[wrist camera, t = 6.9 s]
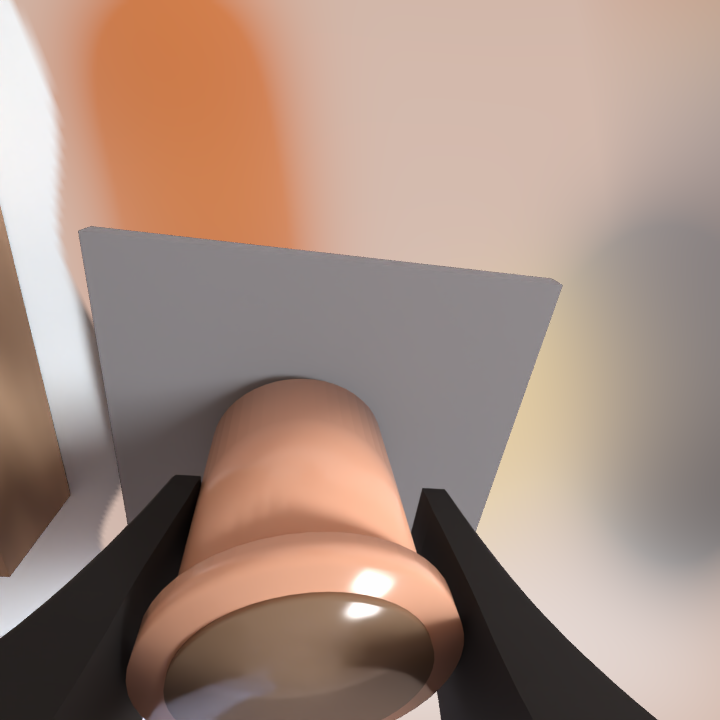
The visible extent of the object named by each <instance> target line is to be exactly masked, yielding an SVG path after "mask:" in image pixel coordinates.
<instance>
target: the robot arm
mask: <svg viewBox="0 0 720 720" xmlns="http://www.w3.org/2000/svg"><path fill="white" fill-rule="evenodd" d="M200 487H201V476H192V475H174V476H173V477H172V478H171V479H170V480H169V481H168V482H167V483H166V484H165V485H164V487H163V488H162V489H161V490H160V491H159V492H158V493H157V494H156V496H155V497H154V498H153V499H152V500H151V501H150V502H149V503H148V504H147V505H146V507H145V508H144V509H143V510H142V511H141V512H140V513H139V514H138V515H137V516H136V517H135V518H134V519H133V520H132V521H131V522H130V523H129V524H128V525H127V526H126V527H125V528H124V530H122V532H121V533H120V534H119V535H118V536H117V537H116V538H115V539H114V540H113V541H112V542H111V543H110V544H109V545H108V546H107V547H106V548H105V549H104V550H103V551H101V552H100V553H99V554H98V555H97V556H96V557H95V558H94V559H93V560H92V561H91V562H90V563H89V564H88V565H86V566H85V567H84V568H83V569H82V570H81V571H80V572H79V573H78V574H77V575H76V576H75V577H74V578H73V579H71V580H70V581H69V582H68V583H67V584H66V585H65V586H64V587H62V588H61V589H60V590H59V591H58V592H57V593H56V594H54V595H53V596H52V597H51V598H50V599H49V600H47V601H46V602H45V603H44V604H43V605H41V606H40V607H39V608H38V609H37V610H35V611H34V612H33V613H32V614H31V615H29V616H28V617H27V618H26V619H24V620H23V621H22V622H21V623H20V624H18V625H17V626H16V627H15V628H13V629H12V630H11V631H9V632H8V633H7V634H5V635H4V636H3V637H2V638H0V720H145V719H144V718H143V717H142V716H141V715H140V714H139V712H138V711H137V710H136V709H135V707H134V706H133V704H132V702H131V700H130V698H129V696H128V692H127V687H126V672H127V667H128V663H129V660H130V657H131V653H132V650H133V647H134V644H135V640H136V637H137V634H138V631H139V628H140V625H141V622H142V619H143V616H144V614H145V613H146V611H147V609H148V607H149V606H150V604H151V602H152V601H153V600H154V599H155V598H156V597H157V595H158V594H159V593H160V592H161V591H162V590H163V589H164V588H165V587H166V586H167V585H168V584H169V583H171V582H172V581H173V580H174V579H175V578H176V577H178V573H179V569H180V565H181V561H182V557H183V554H184V550H185V546H186V542H187V538H188V534H189V530H190V526H191V522H192V518H193V514H194V510H195V506H196V502H197V498H198V495H199V491H200ZM411 535H412V539H413V542H414V545H415V549H416V552H417V554H419V555H420V556H422V557H424V558H425V559H427V560H428V561H429V562H430V563H431V564H432V565H433V566H434V567H436V568H437V569H438V571H439V572H440V573H441V575H442V576H443V577H444V578H445V580H446V582H447V584H448V586H449V589H450V591H451V594H452V597H453V599H454V602H455V605H456V608H457V611H458V614H459V617H460V620H461V622H462V627H463V632H464V646H463V650H462V654H461V657H460V660H459V662H458V664H457V666H456V668H455V670H454V671H453V673H452V674H451V675H450V677H449V678H448V680H447V681H446V682H445V683H444V684H443V685H442V686H441V687H440V689H439V690H437V694H438V700H439V708H440V715H441V720H657V719H656V718H655V717H654V716H652V715H651V714H650V713H649V712H647V711H646V710H645V709H644V708H643V707H641V706H640V705H639V704H638V703H637V702H635V701H634V700H633V699H632V698H631V697H630V696H629V695H627V694H626V693H625V692H624V691H623V690H622V689H620V688H619V687H618V686H617V685H616V684H615V683H613V681H612V680H610V679H609V678H608V677H607V676H606V675H605V674H604V673H603V672H602V671H601V670H600V669H598V668H597V667H596V666H595V665H594V664H593V663H592V662H591V661H590V660H589V659H588V658H586V657H585V656H584V655H583V654H582V653H581V652H580V651H579V650H578V649H577V648H576V647H575V646H574V645H573V644H572V643H571V642H570V641H569V640H568V639H567V638H566V637H565V636H564V635H563V634H562V633H561V632H560V631H559V630H558V629H557V628H556V627H555V626H554V625H553V624H552V623H551V622H550V621H549V620H548V619H547V618H546V617H545V616H544V615H543V613H542V612H541V611H540V610H539V609H538V608H537V607H536V606H535V605H534V604H533V603H532V601H531V600H530V599H529V598H528V597H527V596H526V595H525V593H524V592H523V591H522V590H521V589H520V587H519V586H518V585H517V584H516V583H515V582H514V580H513V579H512V578H511V577H510V576H509V574H508V573H507V572H506V571H505V570H504V568H503V567H502V566H501V565H500V563H499V562H498V561H497V559H496V558H495V557H494V556H493V554H492V553H491V552H490V550H489V549H488V548H487V547H486V545H485V544H484V543H483V541H482V540H481V539H480V537H479V536H478V535H477V533H476V532H475V530H474V529H473V528H472V526H471V525H470V524H469V522H468V521H467V519H466V518H465V517H464V515H463V514H462V512H461V511H460V510H459V508H458V507H457V505H456V504H455V502H454V501H453V500H452V498H451V497H450V495H449V494H448V493H447V491H446V490H445V489H433V488H422V491H421V495H420V499H419V503H418V507H417V511H416V515H415V519H414V522H413V526H412V530H411Z"/></svg>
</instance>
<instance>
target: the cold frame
mask: <svg viewBox="0 0 720 720" xmlns="http://www.w3.org/2000/svg"><path fill="white" fill-rule="evenodd" d="M69 496H70V491H69V487H68V483H67V479H66V474H65V470H64V466H63V462H62V458H61V454H60V450H59V446H58V442H57V437H56V433H55V429H54V425H53V421H52V417H51V413H50V409H49V404H48V400H47V396H46V392H45V388H44V384H43V380H42V376H41V372H40V367H39V363H38V359H37V355H36V351H35V347H34V343H33V339H32V335H31V330H30V326H29V322H28V318H27V314H26V310H25V306H24V302H23V298H22V293H21V289H20V285H19V281H18V277H17V273H16V269H15V265H14V261H13V256H12V252H11V248H10V244H9V240H8V236H7V232H6V228H5V224H4V219H3V215H2V211H1V207H0V577H10V576H11V574H12V573H13V572H14V570H15V569H16V568H17V566H18V565H19V564H20V562H21V561H22V560H23V558H24V557H25V556H26V554H27V553H28V552H29V550H30V549H31V548H32V546H33V545H34V543H35V542H36V541H37V539H38V538H39V537H40V535H41V534H42V533H43V531H44V530H45V529H46V527H47V526H48V525H49V523H50V522H51V521H52V519H53V518H54V517H55V515H56V514H57V513H58V511H59V510H60V509H61V507H62V506H63V504H64V503H65V502H66V500H67V499H68V498H69Z"/></svg>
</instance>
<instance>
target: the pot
mask: <svg viewBox="0 0 720 720" xmlns="http://www.w3.org/2000/svg"><path fill="white" fill-rule="evenodd" d="M463 646H464V632H463V627H462V622H461V620H460V617H459V614H458V611H457V608H456V605H455V602H454V599H453V597H452V594H451V591H450V589H449V586H448V584H447V582H446V580H445V578H444V577H443V576H442V575H441V573H440V572H439V571H438V569H437V568H436V567H434V566H433V565H432V564H431V563H430V562H429V561H428V560H427V559H425V558H424V557H422V556H420V555H419V554H417V552H416V549H415V545H414V542H413V539H412V535H411V532H410V529H409V525H408V522H407V519H406V515H405V512H404V508H403V505H402V502H401V498H400V495H399V492H398V488H397V485H396V482H395V478H394V475H393V472H392V468H391V465H390V462H389V458H388V455H387V452H386V448H385V445H384V442H383V438H382V435H381V432H380V428H379V425H378V422H377V420H376V418H375V416H374V414H373V413H372V411H371V410H370V408H369V407H368V406H367V405H366V404H365V403H364V402H363V401H362V400H361V399H360V398H359V397H357V396H356V395H355V394H353V393H352V392H350V391H348V390H347V389H345V388H342V387H340V386H338V385H335V384H332V383H329V382H325V381H320V380H314V379H288V380H282V381H276V382H273V383H269V384H266V385H263V386H261V387H258V388H256V389H254V390H252V391H250V392H248V393H247V394H245V395H243V396H242V397H241V398H239V399H238V400H237V401H235V402H234V403H233V404H232V405H231V406H230V407H229V408H228V409H227V411H226V412H225V413H224V415H223V416H222V417H221V419H220V421H219V423H218V425H217V427H216V430H215V432H214V435H213V439H212V443H211V447H210V451H209V455H208V459H207V463H206V467H205V471H204V475H203V479H202V483H201V487H200V491H199V495H198V498H197V502H196V506H195V510H194V514H193V518H192V522H191V526H190V530H189V534H188V538H187V542H186V546H185V550H184V554H183V557H182V561H181V565H180V569H179V573H178V577H176V578H175V579H174V580H173V581H172V582H171V583H169V584H168V585H167V586H166V587H165V588H164V589H163V590H162V591H161V592H160V593H159V594H158V595H157V597H156V598H155V599H154V600H153V601H152V602H151V604H150V606H149V607H148V609H147V611H146V613H145V614H144V616H143V619H142V622H141V625H140V628H139V631H138V634H137V637H136V640H135V644H134V647H133V650H132V653H131V657H130V660H129V663H128V667H127V672H126V687H127V692H128V696H129V698H130V700H131V702H132V704H133V706H134V707H135V709H136V710H137V711H138V712H139V714H140V715H141V716H142V717H143V718H144V719H145V720H396V719H398V718H399V717H402V716H403V715H405V714H407V713H408V712H410V711H411V710H413V709H415V708H416V707H418V706H419V705H420V704H422V703H423V702H424V701H426V700H427V699H428V698H430V697H431V696H432V695H433V694H434V693H435V692H436V691H437V690H439V689H440V687H441V686H442V685H443V684H444V683H445V682H446V681H447V680H448V678H449V677H450V675H451V674H452V673H453V671H454V670H455V668H456V666H457V664H458V662H459V660H460V657H461V654H462V650H463Z"/></svg>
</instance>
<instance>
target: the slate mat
mask: <svg viewBox="0 0 720 720" xmlns="http://www.w3.org/2000/svg"><path fill="white" fill-rule="evenodd" d="M78 233H79V239H80V244H81V251H82V256H83V263H84V269H85V274H86V281H87V287H88V292H89V298H90V304H91V310H92V316H93V322H94V328H95V334H96V340H97V346H98V352H99V358H100V364H101V370H102V375H103V381H104V387H105V393H106V399H107V405H108V411H109V417H110V423H111V429H112V435H113V441H114V447H115V453H116V458H117V464H118V470H119V476H120V482H121V488H122V494H123V500H124V505H125V511H126V517H127V524H129V523H130V522H131V521H132V520H133V519H134V518H135V517H136V516H137V515H138V514H139V513H140V512H141V511H142V510H143V509H144V508H145V507H146V505H147V504H148V503H149V502H150V501H151V500H152V499H153V498H154V497H155V496H156V494H157V493H158V492H159V491H160V490H161V489H162V488H163V487H164V485H165V484H166V483H167V482H168V481H169V480H170V479H171V478H172V477H173V476H174V475H192V476H201V483H202V479H203V475H204V471H205V467H206V463H207V459H208V455H209V451H210V447H211V443H212V439H213V435H214V432H215V430H216V427H217V425H218V423H219V421H220V419H221V417H222V416H223V415H224V413H225V412H226V411H227V409H228V408H229V407H230V406H231V405H232V404H233V403H234V402H235V401H237V400H238V399H239V398H241V397H242V396H243V395H245V394H247V393H248V392H250V391H252V390H254V389H256V388H258V387H261V386H263V385H266V384H269V383H273V382H276V381H282V380H288V379H314V380H320V381H325V382H329V383H332V384H335V385H338V386H340V387H342V388H345V389H347V390H348V391H350V392H352V393H353V394H355V395H356V396H357V397H359V398H360V399H361V400H362V401H363V402H364V403H365V404H366V405H367V406H368V407H369V408H370V410H371V411H372V413H373V414H374V416H375V418H376V420H377V422H378V425H379V428H380V432H381V435H382V438H383V442H384V445H385V448H386V452H387V455H388V458H389V462H390V465H391V468H392V472H393V475H394V478H395V482H396V485H397V488H398V492H399V495H400V498H401V502H402V505H403V508H404V512H405V515H406V519H407V522H408V525H409V529H410V532H411V530H412V526H413V522H414V519H415V515H416V511H417V507H418V503H419V499H420V495H421V491H422V488H433V489H445V490H446V491H447V493H448V494H449V495H450V497H451V498H452V500H453V501H454V502H455V504H456V505H457V507H458V508H459V510H460V511H461V512H462V514H463V515H464V517H465V518H466V519H467V521H468V522H469V524H470V525H471V526H472V528H473V529H474V530H475V532H476V529H477V526H478V523H479V521H480V518H481V515H482V512H483V509H484V506H485V503H486V501H487V498H488V495H489V492H490V489H491V487H492V483H493V481H494V478H495V475H496V472H497V470H498V467H499V464H500V461H501V458H502V455H503V452H504V450H505V447H506V444H507V441H508V439H509V436H510V433H511V430H512V427H513V424H514V421H515V419H516V416H517V413H518V410H519V407H520V405H521V402H522V399H523V396H524V393H525V390H526V388H527V385H528V381H529V379H530V376H531V373H532V371H533V368H534V365H535V362H536V359H537V356H538V353H539V350H540V348H541V345H542V342H543V339H544V337H545V334H546V331H547V328H548V325H549V323H550V320H551V317H552V314H553V311H554V308H555V306H556V302H557V300H558V297H559V294H560V291H561V289H562V284H560V283H558V282H557V281H555V280H553V279H551V278H542V277H533V276H524V275H515V274H507V273H498V272H488V271H480V270H472V269H462V268H454V267H445V266H436V265H428V264H418V263H410V262H401V261H392V260H383V259H375V258H366V257H357V256H349V255H340V254H331V253H322V252H312V251H305V250H295V249H287V248H278V247H269V246H261V245H252V244H243V243H234V242H226V241H216V240H207V239H198V238H190V237H181V236H173V235H164V234H154V233H146V232H138V231H129V230H120V229H111V228H102V227H94V226H90V227H87V228H85V229H82V230H79V231H78Z"/></svg>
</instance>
